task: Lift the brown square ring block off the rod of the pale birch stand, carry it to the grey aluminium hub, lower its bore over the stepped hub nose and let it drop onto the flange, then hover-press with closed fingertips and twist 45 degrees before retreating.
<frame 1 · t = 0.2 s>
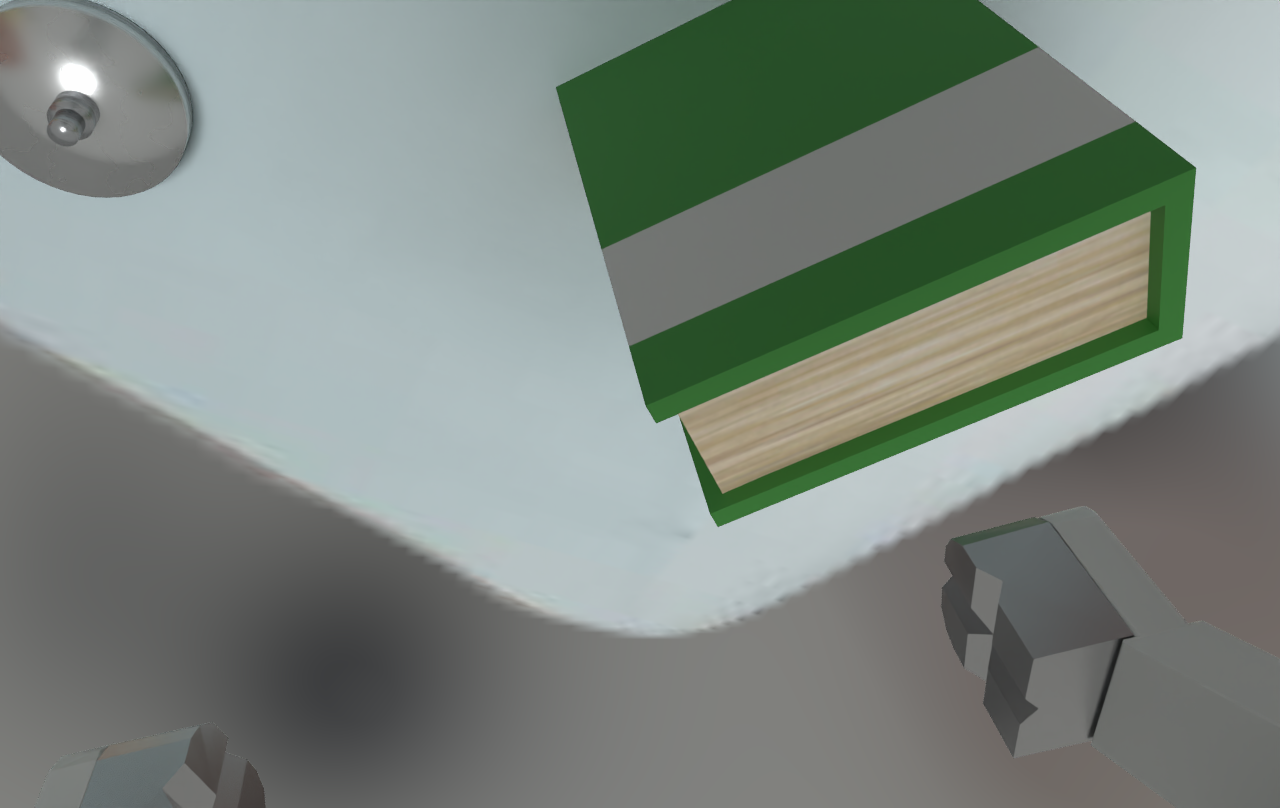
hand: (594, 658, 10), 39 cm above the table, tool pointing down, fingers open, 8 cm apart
hub: (85, 95, 41), on the table
hardback book: (735, 72, 47), on the table
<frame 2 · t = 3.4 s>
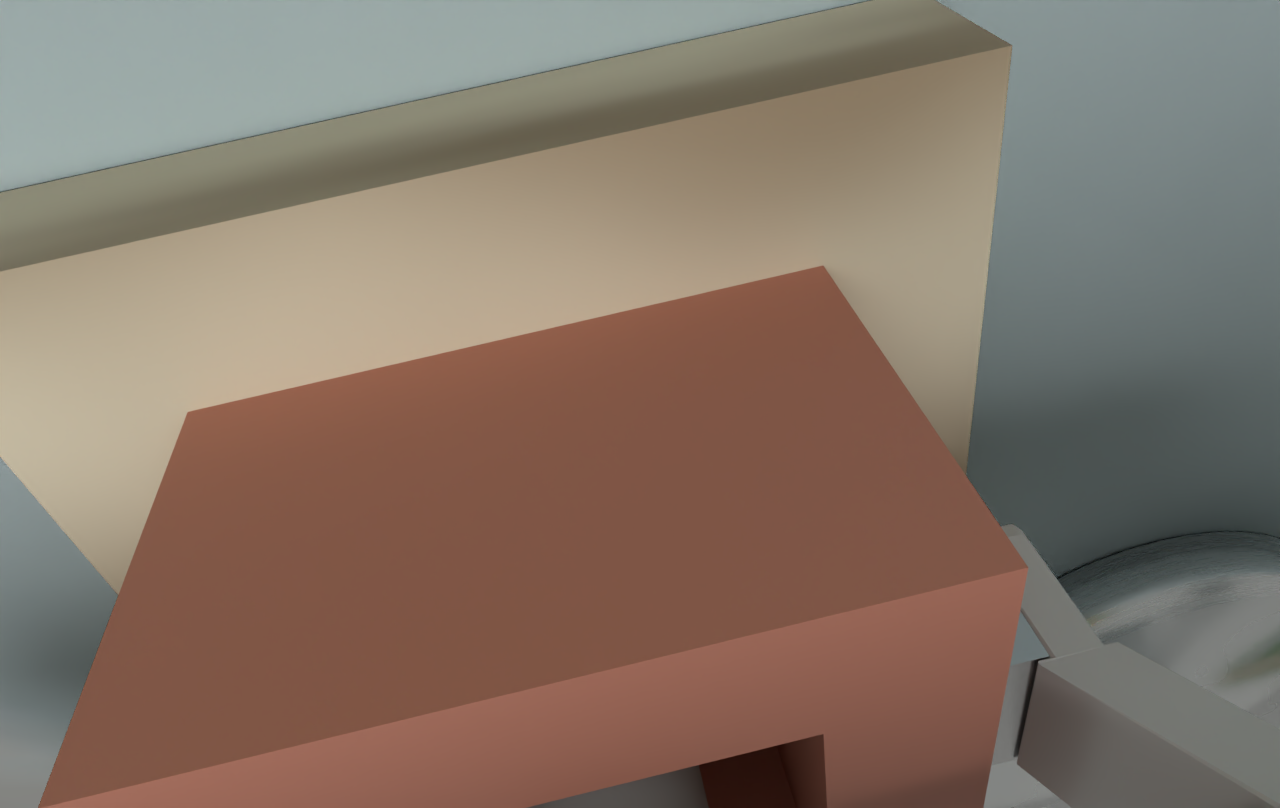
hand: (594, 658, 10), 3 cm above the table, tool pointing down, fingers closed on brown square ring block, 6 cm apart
brown square ring block: (575, 550, 11), point 2 cm above the table, touching gripper, stand
hub: (1113, 680, 19), on the table
stand: (556, 446, 12), on the table
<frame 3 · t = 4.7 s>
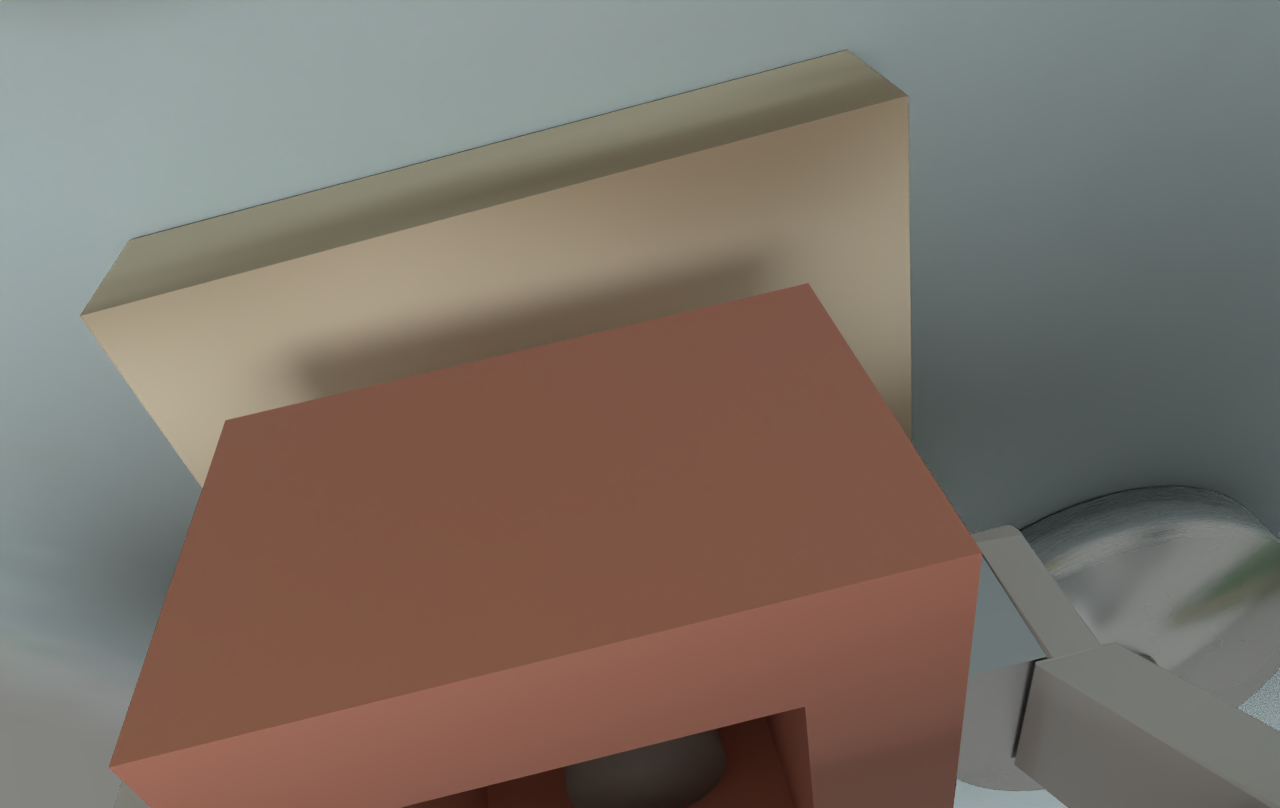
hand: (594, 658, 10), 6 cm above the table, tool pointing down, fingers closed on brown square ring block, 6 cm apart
brown square ring block: (581, 549, 11), point 4 cm above the table, touching gripper
hub: (1080, 627, 21), on the table
stand: (579, 423, 15), on the table
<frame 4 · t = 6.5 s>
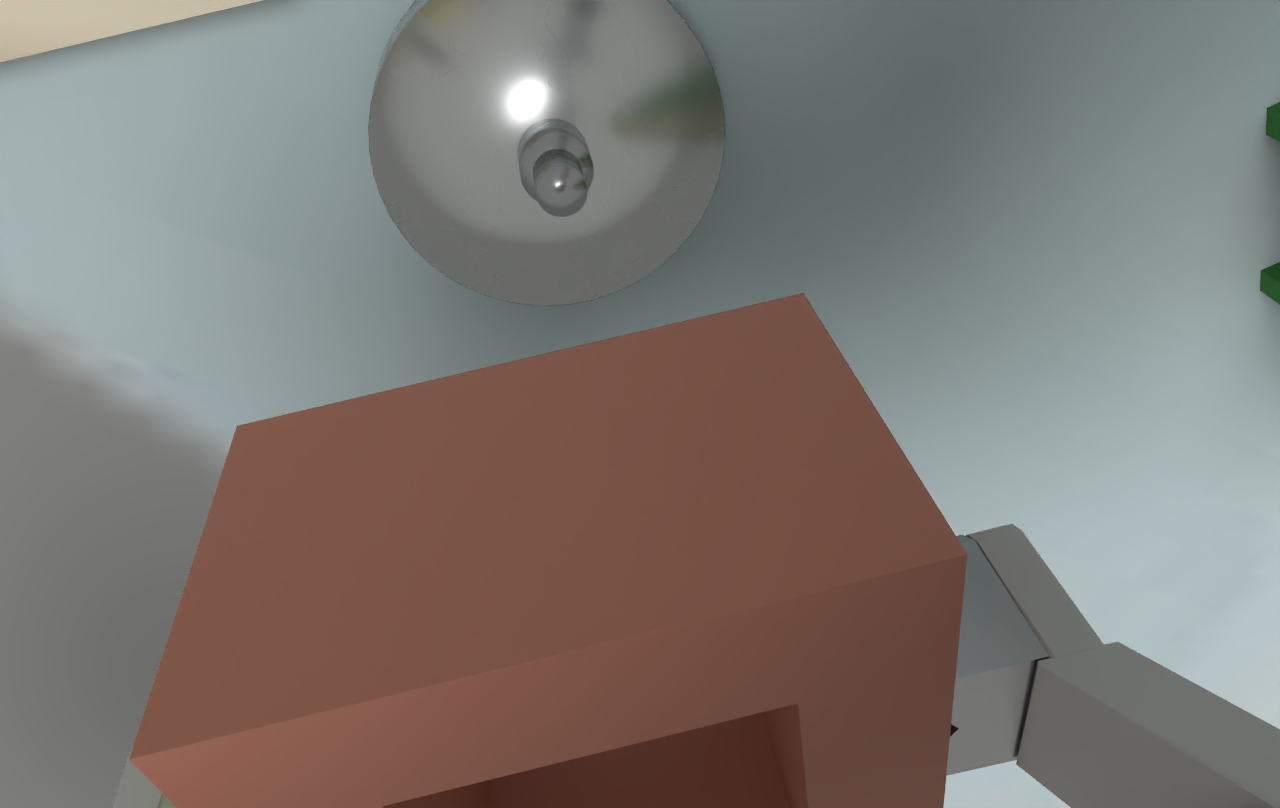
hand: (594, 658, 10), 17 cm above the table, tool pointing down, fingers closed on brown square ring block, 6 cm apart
brown square ring block: (582, 552, 12), point 15 cm above the table, touching gripper
hub: (547, 132, 24), on the table
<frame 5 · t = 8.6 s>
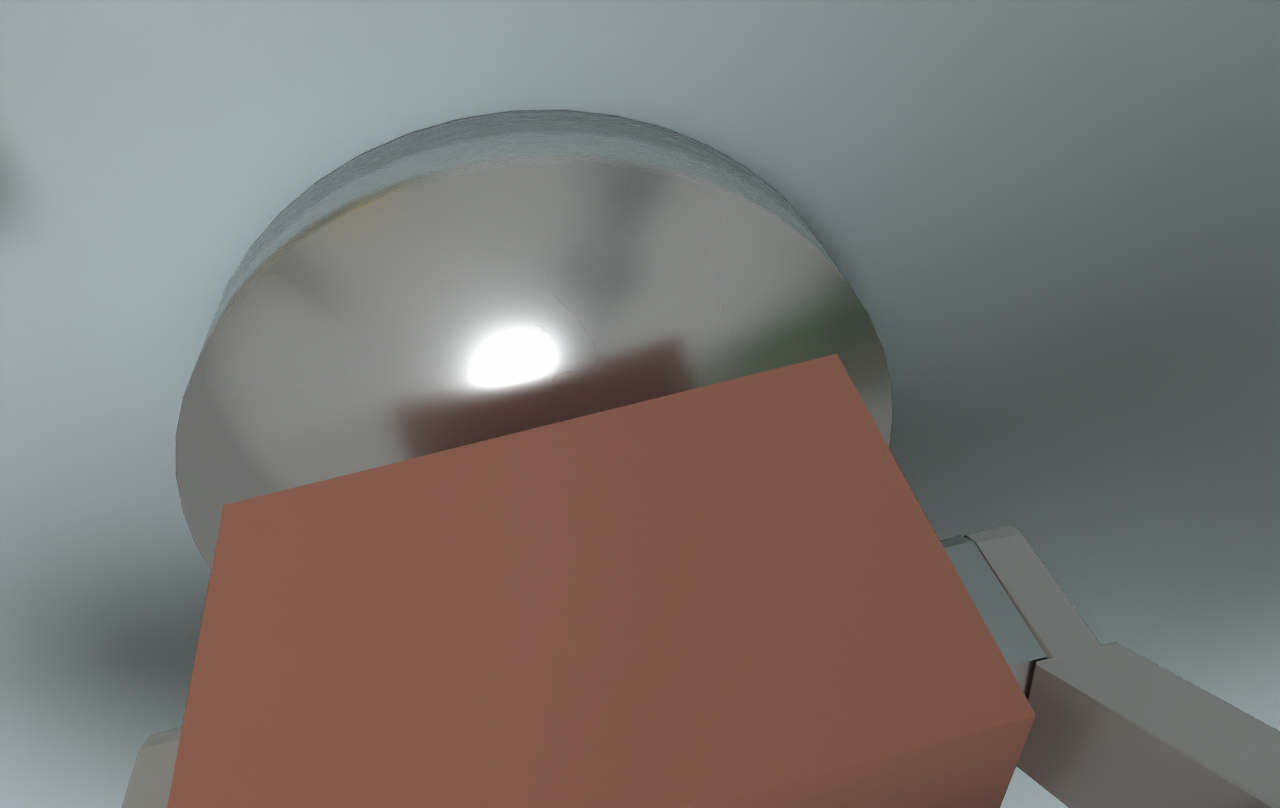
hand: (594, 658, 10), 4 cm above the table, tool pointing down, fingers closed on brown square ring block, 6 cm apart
brown square ring block: (591, 597, 11), point 3 cm above the table, tilted 6°, touching gripper, hub
hub: (548, 423, 13), on the table
when the fingers open (4 cm above the table, at t = 9.1 s): brown square ring block stays where it is, resting on hub.
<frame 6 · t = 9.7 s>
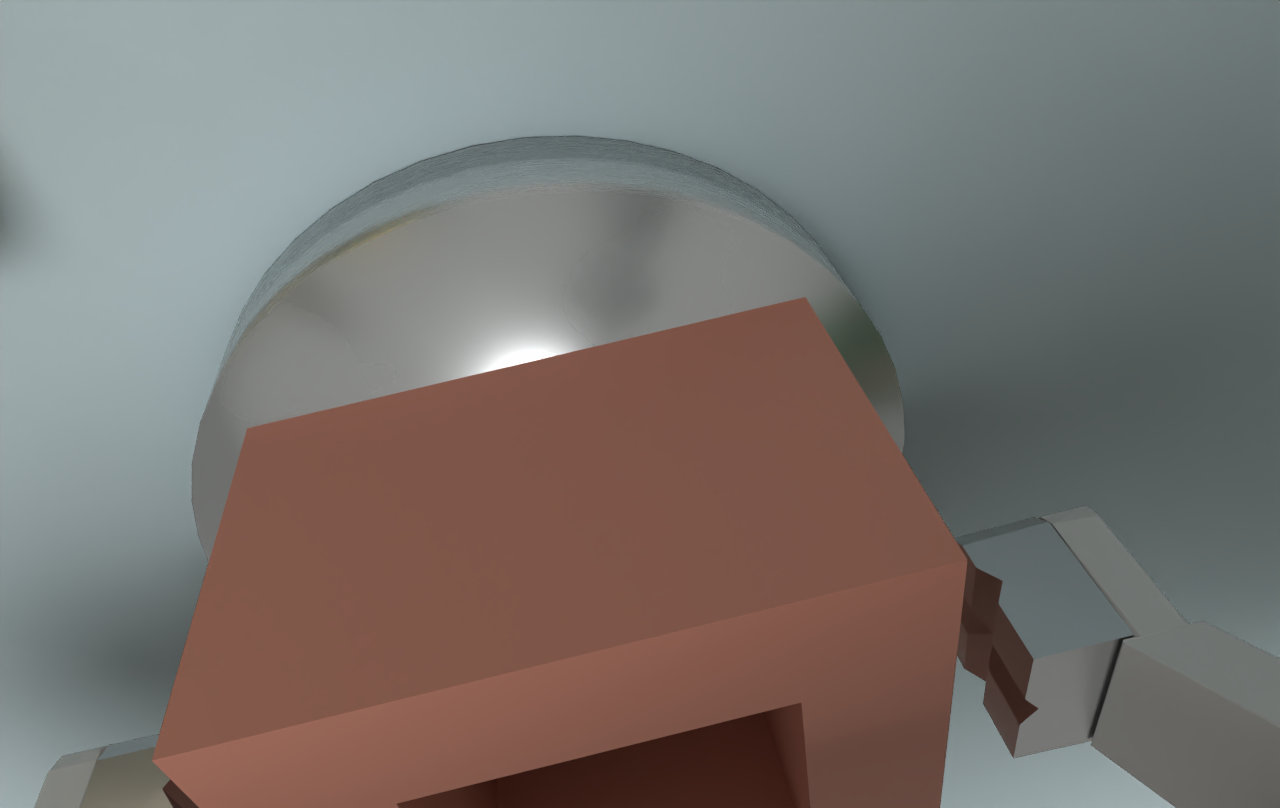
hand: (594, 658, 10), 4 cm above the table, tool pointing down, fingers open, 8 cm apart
brown square ring block: (586, 549, 12), point 1 cm above the table, touching hub
hub: (560, 443, 13), on the table
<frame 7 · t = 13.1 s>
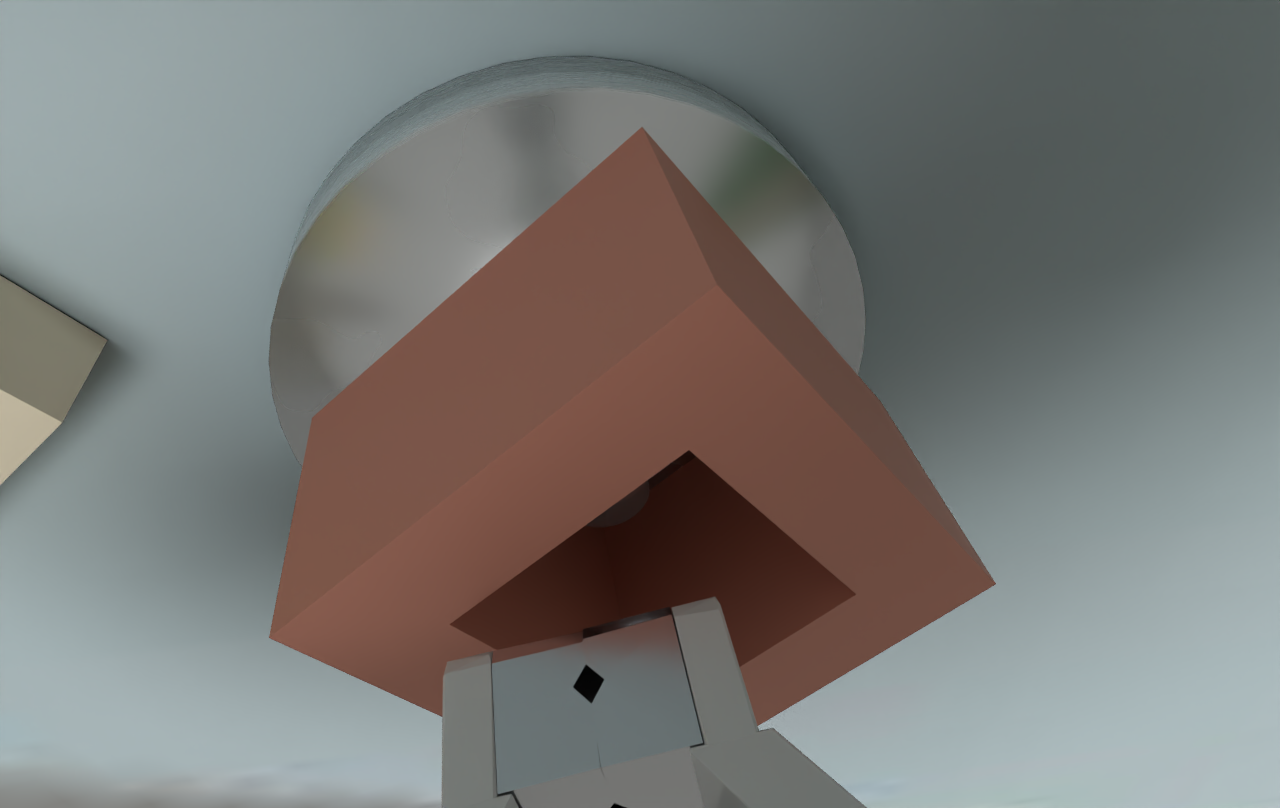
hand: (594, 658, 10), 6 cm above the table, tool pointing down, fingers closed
brown square ring block: (614, 408, 14), point 1 cm above the table, touching hub
hub: (572, 334, 15), on the table
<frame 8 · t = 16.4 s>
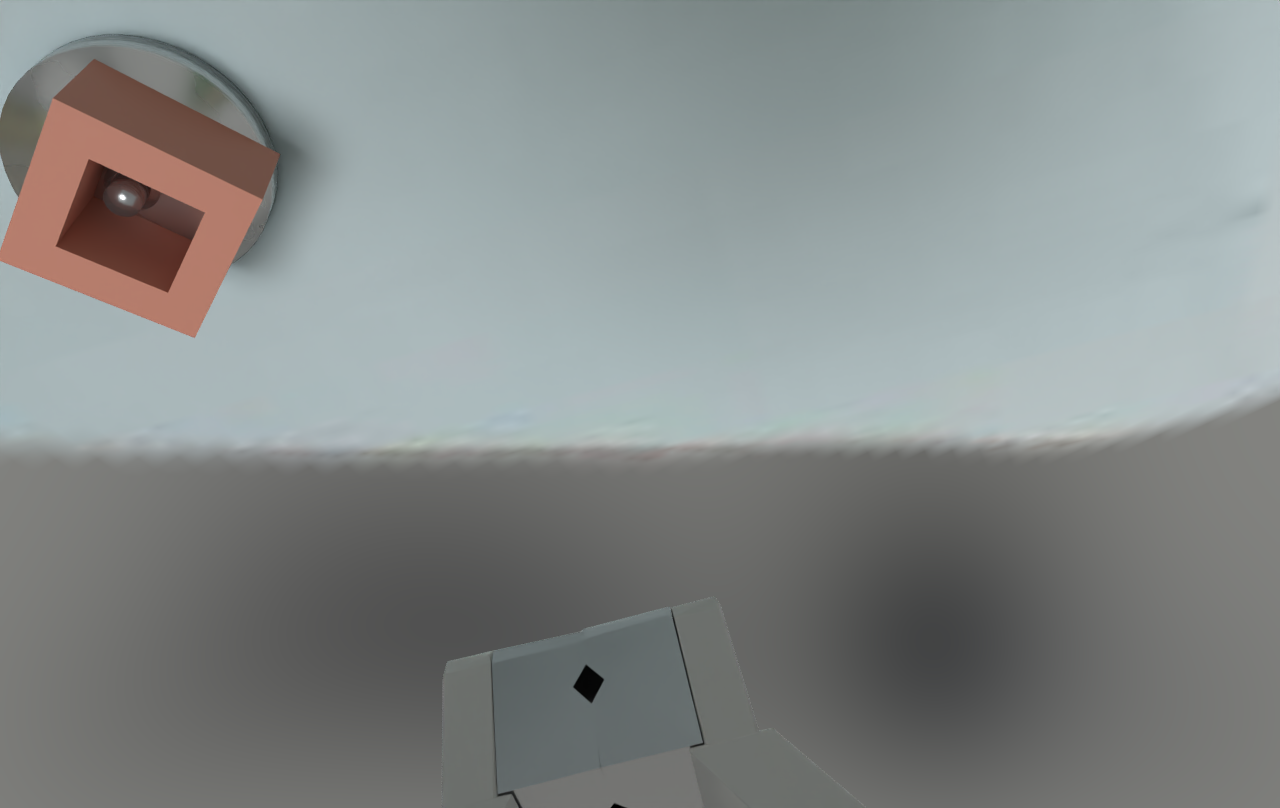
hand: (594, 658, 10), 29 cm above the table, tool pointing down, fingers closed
brown square ring block: (160, 181, 33), point 1 cm above the table, touching hub
hub: (151, 157, 34), on the table
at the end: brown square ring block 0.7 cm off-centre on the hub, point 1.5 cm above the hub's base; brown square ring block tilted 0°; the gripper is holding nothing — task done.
